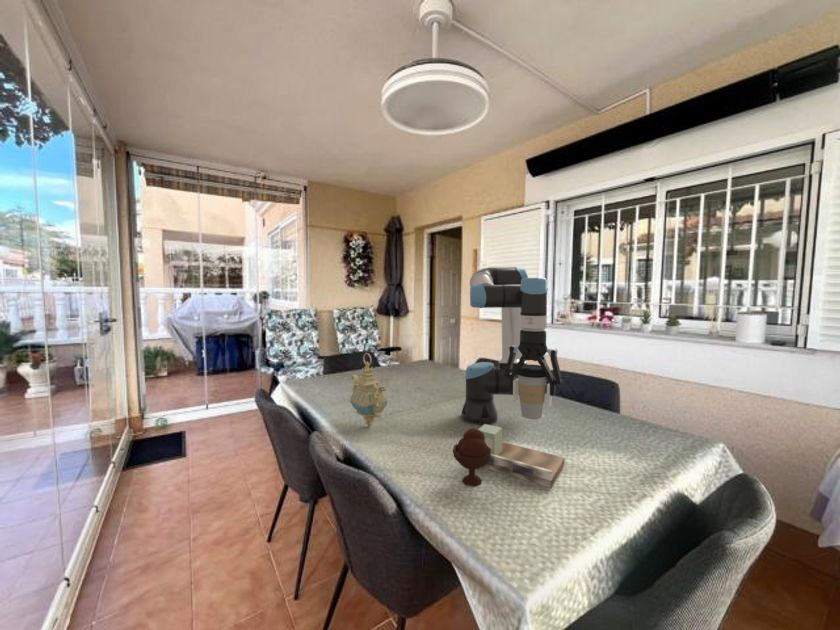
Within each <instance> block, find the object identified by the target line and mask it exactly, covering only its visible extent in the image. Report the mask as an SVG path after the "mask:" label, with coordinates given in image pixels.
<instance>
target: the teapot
mask: <svg viewBox="0 0 840 630" xmlns="http://www.w3.org/2000/svg"><path fill="white" fill-rule="evenodd" d="M366 355H368V357H369V361H368V360H367V361H366V360H365V356H366ZM362 359H363V360H362V361H363V364H364V367H361V369H362V373H360V374H361V377H360V379H359V376H358V375H357V374H352V375H351V380H354V384H353V388H352V395H351V396H350V400H349V401H350V404H351V406H352V407H353V408H354V409H355V410H356V411H355V413H356V414H358V415H360V416H362V417H363V419H364V420H365V424H366V426H367V427H368V426H369V427H368V428H370V427H373V424H372V423H373V422H374V420H375V419H377V418H380V417H381V414H382V412H383V411H384V409H385V408H386V407H387V405H388V399H387V396H386V395H385V393H383V392H385V391H387V387H386V385H381V386H379V387H378V385H380V384H381V382H380V381H378V380H376V377H375V376H374V375H375V373H373V372H374V369H373V366H371V365H372V360H373V359H372V356H371V354H370V353H368V352H365V353H364V354H363V356H362ZM370 366H371V367H370Z"/></svg>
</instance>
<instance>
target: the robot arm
mask: <svg viewBox="0 0 840 630" xmlns="http://www.w3.org/2000/svg"><path fill="white" fill-rule="evenodd" d="M471 275H472V276H471V277H470V279H469V288H470V289H469V302H470V303H469V305H470V306H471V307H472V308H478V309H487V308H489V309H490V308H494V309H495V308H497V309H498V308H499V309H500V308H501V359H500V360H498V365H497V366H495V365H494V363H493V362H487V361H481V362H480V361H479V362H475V363H472V364H468V366H466V368H465V376H464V378H465V400H464V404H463V406H462V409H461V419H462V420H463V421H464V422H465V423H466V422H467V423H470V424H474V425H484V424H487V425H490V424H493V423H496V422H497V421H498V419H499V418H498V411H497V408H496V405H495V402H494V395H496V396H497V395H499V396H501V395H504V396H512V402H516V401H518V400H519V387H518V374H516V372H517V370H518V369H519V367H521V366H523V365H528V363H527V361H533V362H537V363H538V365H540V366H541V367H542V369H543V370H544V373H545V374H546V376H547V377H546V380H547V381H548V384H546V408H550V407H552V403H553V402H552V401H553V399H552V397H554V396H555V395H556V385H560V384H561V383H563V378H562V373H561V369H560V365H559V360H558V349H557V348H554V349H552V348H548V346H547V331H546V329H547V327H548V326H547V321H548V320H547V318H548V317H547V309H548V291H549V288H548V281H547V278H545V277H529V274H528V271H527V269H526V268H524V267H522V266H521V267H520V266H506V267H503V266H502V267H501V266H500V267H485V268H482V269H480V270H478V271H476V272H474V273H473V274H471ZM546 354H548V356H549V357H550V362H551V366H552V370H553V373H552V371H551V369H550V367H549V365H548V363H547V360H546V357H545V355H546Z"/></svg>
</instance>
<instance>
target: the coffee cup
mask: <svg viewBox="0 0 840 630" xmlns="http://www.w3.org/2000/svg"><path fill="white" fill-rule="evenodd" d="M516 374H518V387H519V395H518V399H519V401H520V402H519V403H520V411H521V416H522V417H523V418H525V419H529V420H540V419H541V418H542V417H543V409H544V402H545V397H546V396H545V395H546V391H547V376H546V374H545V373H544V370H543V369H542V367H541V365H540V364H527V365H523V366H521V367H519V369H518V370H517V372H516Z"/></svg>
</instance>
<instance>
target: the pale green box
mask: <svg viewBox="0 0 840 630" xmlns="http://www.w3.org/2000/svg"><path fill="white" fill-rule="evenodd" d="M477 429H478V430H480V431H481V432H482V433H483V434H484V437H485V443H486V444H487V446H488V447H489V448H491V454H494V455H499V454H500V453H501V452H502V442H503V428H502V427H500V426H496V425H495V426H494V425H490V424H482V426H481V427H479V428H477Z"/></svg>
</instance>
